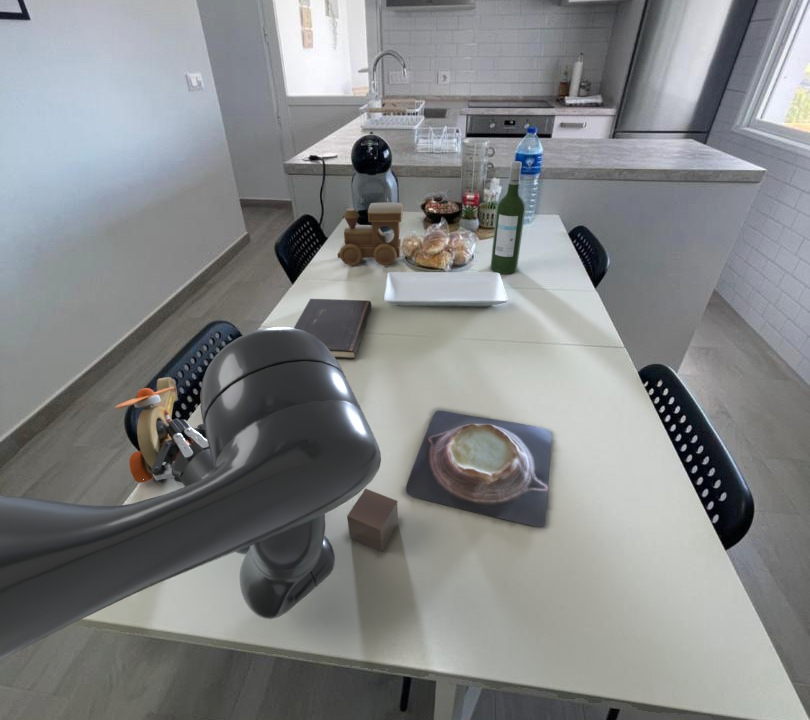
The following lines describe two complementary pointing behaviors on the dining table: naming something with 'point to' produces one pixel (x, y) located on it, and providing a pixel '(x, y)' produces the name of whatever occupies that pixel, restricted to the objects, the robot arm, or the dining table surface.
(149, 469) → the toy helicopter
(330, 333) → the hardcover book
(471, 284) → the tray
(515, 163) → the wine bottle
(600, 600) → the dining table surface
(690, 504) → the dining table surface
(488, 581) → the dining table surface
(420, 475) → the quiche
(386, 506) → the walnut block
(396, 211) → the wooden toy train
